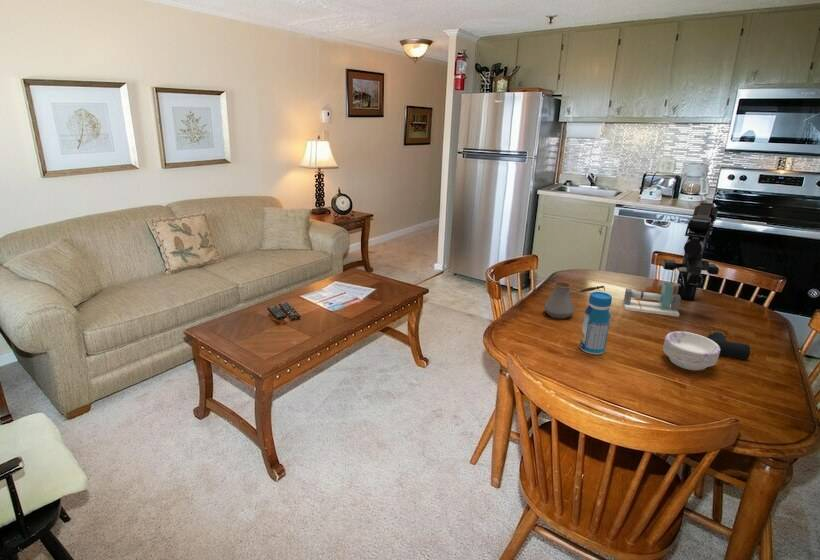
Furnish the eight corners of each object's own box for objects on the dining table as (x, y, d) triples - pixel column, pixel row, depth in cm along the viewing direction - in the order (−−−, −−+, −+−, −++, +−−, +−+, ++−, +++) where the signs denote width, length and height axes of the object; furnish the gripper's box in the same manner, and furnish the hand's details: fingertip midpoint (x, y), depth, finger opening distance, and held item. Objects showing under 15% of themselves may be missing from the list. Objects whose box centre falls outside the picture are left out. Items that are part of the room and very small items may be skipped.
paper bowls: (715, 381, 136) (721, 357, 134) (658, 366, 144) (663, 344, 141) (714, 359, 149) (720, 338, 146) (662, 347, 156) (667, 327, 154)
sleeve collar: (666, 302, 189) (671, 282, 186) (669, 307, 183) (674, 287, 180) (658, 301, 190) (663, 281, 187) (661, 306, 184) (665, 286, 181)
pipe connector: (692, 325, 162) (742, 333, 156) (689, 338, 164) (738, 347, 158) (698, 339, 152) (751, 348, 146) (694, 353, 154) (746, 362, 148)
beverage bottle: (593, 357, 149) (602, 301, 142) (573, 346, 156) (581, 292, 149) (610, 352, 153) (620, 297, 146) (590, 341, 160) (599, 288, 153)
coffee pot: (541, 317, 179) (545, 281, 174) (546, 307, 189) (550, 273, 184) (598, 328, 170) (604, 291, 165) (600, 316, 180) (606, 281, 175)
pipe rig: (674, 307, 190) (677, 292, 188) (678, 316, 181) (682, 300, 179) (622, 301, 196) (625, 286, 194) (624, 309, 187) (627, 293, 185)
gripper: (670, 252, 172) (662, 290, 178) (727, 257, 167) (717, 297, 172) (665, 245, 182) (658, 281, 187) (719, 250, 176) (709, 287, 182)
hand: (685, 287), depth 182 cm, fingers closed
